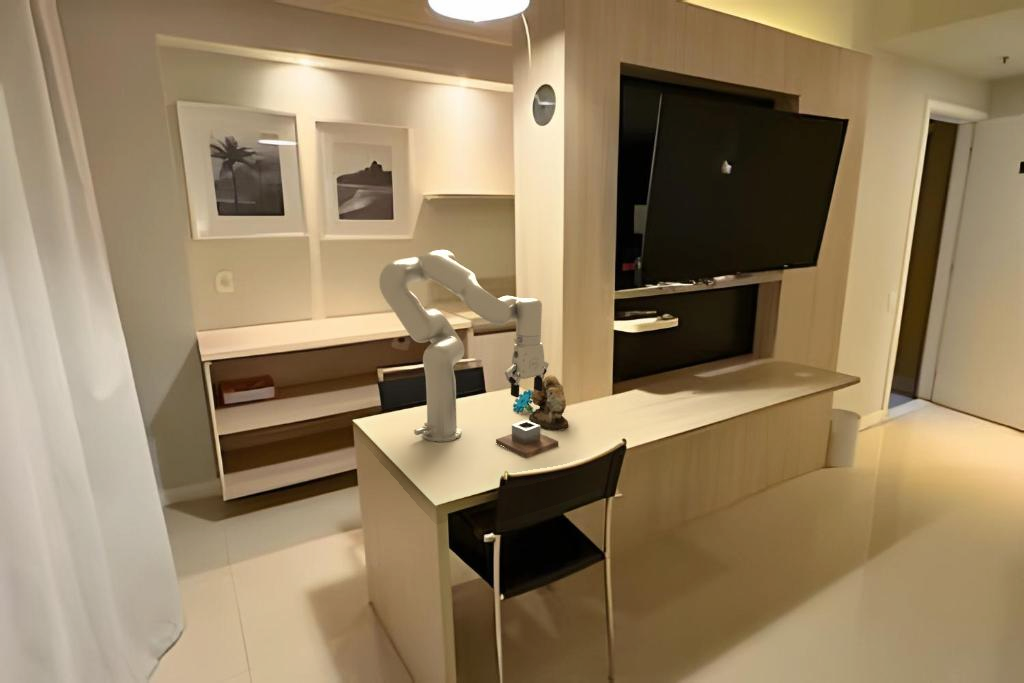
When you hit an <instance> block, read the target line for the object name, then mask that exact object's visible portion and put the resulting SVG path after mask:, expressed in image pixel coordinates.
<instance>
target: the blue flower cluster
mask: <svg viewBox="0 0 1024 683" xmlns="http://www.w3.org/2000/svg"><path fill="white" fill-rule="evenodd" d="M532 391H533V390H530V389H528V390H523V392H522V393H519V397H518V398H515V400H514V401H515V402H514V403H513V404H512V410H513V411H514V412H516V413H517V414H518V413H522V412H524V411H525V409H526V410H527V412H531V413H533V412H534V410H533V409H534V407H532V406H531V404H532V403H533V401H532V399H531V398H530V397H531V396H532ZM531 413H530V414H531Z"/></svg>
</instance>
